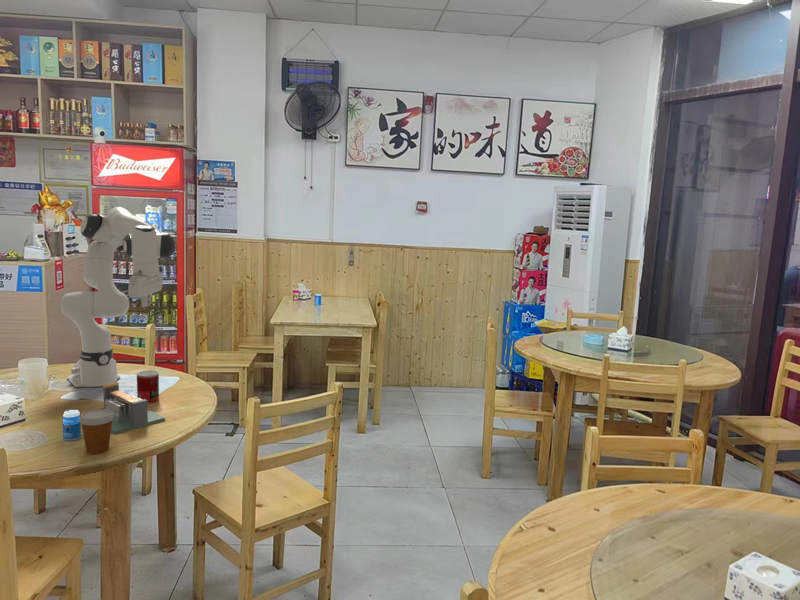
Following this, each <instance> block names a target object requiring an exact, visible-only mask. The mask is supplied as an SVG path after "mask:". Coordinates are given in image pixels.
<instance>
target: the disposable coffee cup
mask: <svg viewBox="0 0 800 600" xmlns="http://www.w3.org/2000/svg"><path fill="white" fill-rule="evenodd" d="M113 417H114V415H113V414H112V411H110V410H107V409H102V408H97V409H90V410H87V411H84V412H82V413H81V414H80V417H79V419H78V421H79V422H80V424H81V427H82V428H81V429H82V434H83V441H84V445H85V450H86V454H89V455H100V454H104V453H106V452H108V451H109V450H110V441H111V434H112V432H111V425H112V419H113Z"/></svg>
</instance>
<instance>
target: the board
mask: <svg viewBox="0 0 800 600" xmlns="http://www.w3.org/2000/svg"><path fill="white" fill-rule="evenodd" d="M119 387H120V383H119V382H117V381H116V382H115V383H110V384H105V385H103V386H102V392H103V393H102V394H103V407H102V408H101V409H105V400H106V399H108V400H110V398H112V399H114V398H115V396H113V395H111V394H110V393H109V391H113V390H119V391H120V388H119ZM164 421H166V417H164V416H162V415H160V414H158V413H156V412H154V411H151V410H149V409H148V403H147V400H145V399H144V400H139V401H135V402H131V420H129V421H125V422H121V423H117V422H115V421H113V420H112V425H111V433H113V434H115V435H116V434H120V433H123V432H127V431H130V430H135V429H138V428H141V427H145V426H149V425H152V424H157V423H160V422H164Z"/></svg>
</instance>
